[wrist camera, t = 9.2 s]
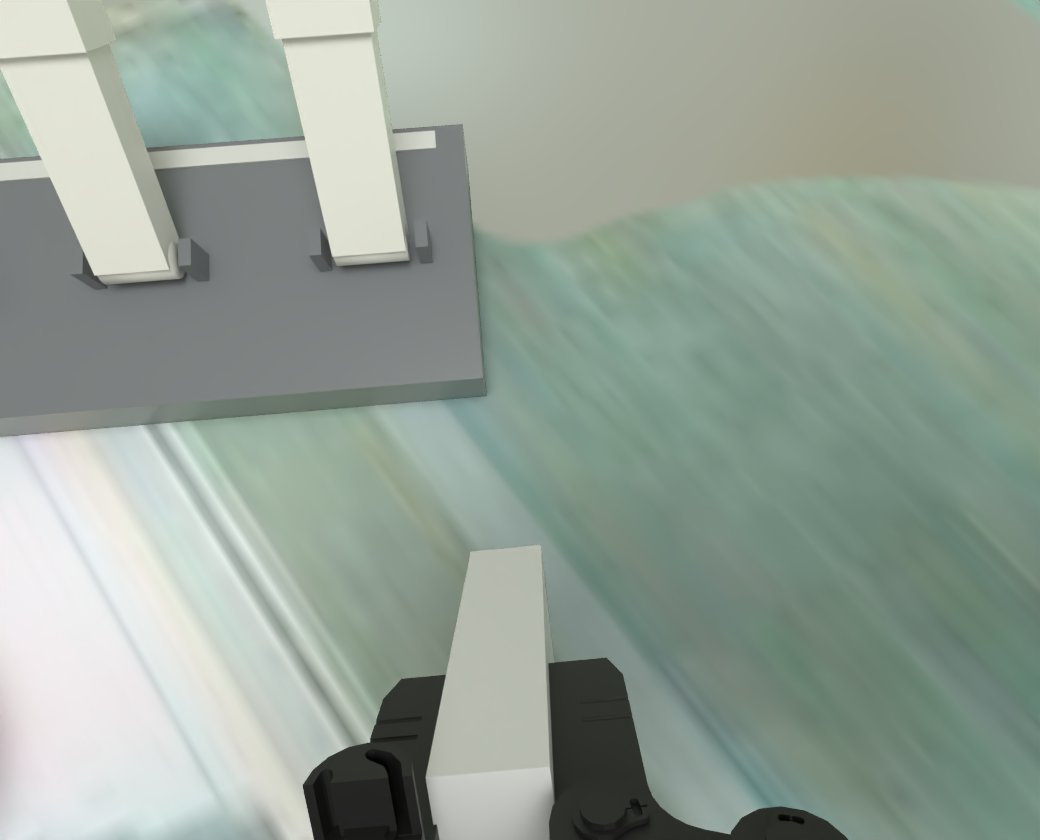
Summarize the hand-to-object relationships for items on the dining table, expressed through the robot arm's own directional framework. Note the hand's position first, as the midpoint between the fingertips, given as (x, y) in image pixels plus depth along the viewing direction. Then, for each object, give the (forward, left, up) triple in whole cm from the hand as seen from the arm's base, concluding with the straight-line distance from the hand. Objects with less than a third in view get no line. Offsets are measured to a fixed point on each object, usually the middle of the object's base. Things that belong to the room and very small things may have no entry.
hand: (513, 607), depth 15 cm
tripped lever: (-3, -17, -18) cm, 25 cm away
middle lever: (+7, -23, -18) cm, 30 cm away
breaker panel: (+7, -23, -23) cm, 33 cm away
